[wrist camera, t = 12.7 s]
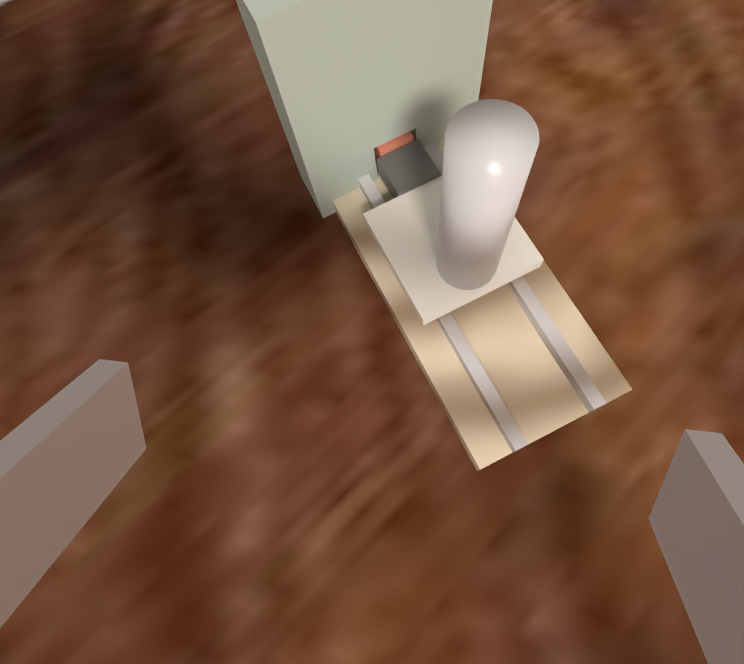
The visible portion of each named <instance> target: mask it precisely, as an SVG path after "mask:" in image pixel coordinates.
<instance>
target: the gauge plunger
mask: <svg viewBox="0 0 744 664" xmlns="http://www.w3.org/2000/svg"><path fill="white" fill-rule="evenodd" d="M412 141H414V136H413V134H412V133H411V131H409V132H407V133H405V134H403V135H401V136H399V137H396V138H394V139H392V140H390V141H388V142H386V143H384V144H382V145H380V146H378V147H375V148H374V153H375V161H376V164H377V158H379V157H381V156H383V155H385V154H387V153H389V152H391V151H393V150H396V149H398V148H400V147H402V146H404V145H406V144H408V143H410V142H412ZM377 166H378V165H377Z"/></svg>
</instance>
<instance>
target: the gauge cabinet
mask: <svg viewBox="0 0 744 664" xmlns="http://www.w3.org/2000/svg"><path fill="white" fill-rule="evenodd" d="M236 2H237V5H238V7H239V10H240V13H241V16H242V18H243V21H244V24H245V26H246V29H247V32H248V34H249V37H250V40H251V43H252V45H253V48H254V51H255V53H256V56H257V59H258V62H259V64H260V67H261V70H262V72H263V75H264V78H265V81H266V83H267V86H268V89H269V91H270V94H271V97H272V99H273V102H274V105H275V108H276V110H277V113H278V116H279V118H280V121H281V124H282V127H283V129H284V132H285V135H286V137H287V140H288V143H289V145H290V148H291V151H292V154H293V156H294V159H295V162H296V164H297V167H298V170H299V173H300V175H301V178H302V179H303V181H304V183H305V185H306V187H307V189H308V191H309V193H310V194H311V196H312V198H313V200H314V202H315V204H316V206H317V207H318V209H319V211H320V213H321V215H322V217H323V218H325V217H327V216H329V215H331V214H333V213H335V212H336V211H335V208H334V204H333V200H335V199H337V198H339V197H341V196H344V195H346V194H348V193H350V192H352V191H354V190H356V189H358V188H360V186H359V181H358V179H360V178H362V177H364V176H366V175H368V174H369V175H370V177H371V179H372V180H373V181H375V180H377V179H379V178H381V177H380V175H379V173H378V166H377V164H376V161H375V153H374V148H375V147H378V146H380V145H382V144H384V143H386V142H388V141H390V140H392V139H394V138H396V137H399V136H401V135H403V134H405V133H407V132H409V131H411V133H412V134H413V136H414V140H417V139H419V141H420V142H421V144H422V145H423V147H426V146H429V145H431V144H433V143H435V144H436V146H437V147H438V149H442V148H444V143H445V132H446V128H447V125H448V123H449V121H450V120H451V118H452V117H453V116H454V114H455V113H456V112H458V111H459V110H460V109H461V108H463V107H464V106H466V105H468V104H470V103H473V102H476V101H478V98H479V91H480V84H481V77H482V70H483V64H484V57H485V50H486V43H487V36H488V29H489V22H490V15H491V9H492V2H493V0H236Z"/></svg>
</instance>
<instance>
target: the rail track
mask: <svg viewBox="0 0 744 664" xmlns="http://www.w3.org/2000/svg"><path fill="white" fill-rule="evenodd" d="M424 149H425V150H426V152H427V153H428V155H429V156H430V158H431V159H432V161H433V162H434V164H435V165H436V167H437V169H438V170H439V172H440V173H441V175H440V176H442V172H443V158H444V148H442V149H438V147H437V146H436V144H435V143H433V144H431V145H429V146H426V147H424ZM358 181H359V186H360V188H358V189H356V190H354V191H352V192H350V193H348V194H346V195H344V196H341V197H339V198H337V199H335V200H333V204H334V208H335V211H336V213H337V215H338V217H339V219H340V221H341V223H342V224H343V226H344V228H345V230H346V232H347V234H348V235H349V237H350V239H351V241H352V243H353V245H354V246H355V248H356V250H357V252H358V254H359V256H360V257H361V259H362V261H363V263H364V265H365V267H366V268H367V270H368V272H369V274H370V276H371V278H372V279H373V281H374V283H375V285H376V287H377V288H378V290H379V292H380V294H381V296H382V298H383V299H384V301H385V303H386V305H387V307H388V309H389V310H390V312H391V314H392V316H393V318H394V320H395V321H396V323H397V325H398V327H399V329H400V331H401V332H402V334H403V336H404V338H405V340H406V342H407V343H408V345H409V347H410V349H411V351H412V353H413V354H414V356H415V358H416V360H417V362H418V363H419V365H420V367H421V369H422V371H423V373H424V374H425V376H426V378H427V380H428V382H429V384H430V385H431V387H432V389H433V391H434V393H435V395H436V396H437V398H438V400H439V402H440V404H441V406H442V407H443V409H444V411H445V413H446V415H447V417H448V418H449V420H450V422H451V424H452V426H453V428H454V429H455V431H456V433H457V435H458V437H459V439H460V440H461V442H462V444H463V446H464V448H465V449H466V451H467V453H468V455H469V457H470V459H471V460H472V462H473V464H474V466H475V468H476V470H477V471H478V470H480V469H482V468H484V467H486V466H488V465H490V464H492V463H494V462H495V461H497V460H499V459H501V458H503V457H505V456H507V455H509V454H511V453H513V452H515V451H516V450H518V449H520V448H522V447H524V446H526V445H528V444H530V443H532V442H533V441H535V440H537V439H539V438H541V437H543V436H545V435H547V434H549V433H551V432H552V431H554V430H556V429H558V428H560V427H562V426H564V425H566V424H568V423H570V422H572V421H573V420H575V419H577V418H579V417H581V416H583V415H585V414H587V413H589V412H591V411H593V410H594V409H596V408H598V407H600V406H602V405H604V404H606V403H608V402H610V401H611V400H613V399H615V398H617V397H619V396H621V395H623V394H625V393H627V392H629V391H630V390H632V388H631V387H630V386H629V384H628V383H627V381H626V380H625V378H624V377H623V375H622V374H621V372H620V371H619V369H618V368H617V367H616V365H615V364H614V362H613V361H612V359H611V358H610V356H609V355H608V353H607V352H606V350H605V349H604V348H603V346H602V345H601V343H600V342H599V340H598V339H597V337H596V336H595V334H594V333H593V332H592V330H591V329H590V327H589V326H588V324H587V323H586V321H585V320H584V318H583V317H582V315H581V314H580V313H579V311H578V310H577V308H576V307H575V305H574V304H573V302H572V301H571V299H570V298H569V296H568V295H567V294H566V292H565V291H564V289H563V288H562V286H561V285H560V283H559V282H558V280H557V279H556V278H555V276H554V275H553V273H552V272H551V270H550V269H549V267H548V266H547V264H546V263H545V261H544V260H543V262H542V264H541V266H540V267H539V268H537V269H535V270H533V271H531V272H529V273H527V274H525V275H523V276H521V277H519V278H517V279H515V280H513V281H511V282H509V283H507V284H505V285H503V286H501V287H499V288H497V289H495V290H493V291H491V292H489V293H487V294H485V295H483V296H481V297H479V298H477V299H475V300H473V301H471V302H469V303H467V304H465V305H463V306H461V307H459V308H457V309H455V310H453V311H451V312H449V313H447V314H445V315H443V316H441V317H439V318H437V319H435V320H433V321H431V322H429V323H427V324H425V325H422V323H421V321H420V319H419V318H418V316H417V314H416V312H415V310H414V309H413V307H412V305H411V303H410V302H409V300H408V298H407V296H406V295H405V293H404V291H403V289H402V287H401V286H400V284H399V282H398V280H397V279H396V277H395V275H394V273H393V272H392V270H391V268H390V266H389V264H388V263H387V261H386V259H385V257H384V256H383V254H382V252H381V250H380V249H379V247H378V245H377V243H376V241H375V240H374V238H373V236H372V234H371V233H370V231H369V229H368V227H367V226H366V224H365V222H364V217H363V213H365V212H367V211H369V210H371V209H373V208H376V207H378V206H380V205H382V204H384V203H386V202H388V201H390V200H392V199H394V198H393V197H392V195H391V193H390V192H389V190H388V188H387V187H386V185H385V183H384V182H383V180H382V178H379V179H377V180H375V181H373V180H372V179H371V177H370V175H369V174H368V175H366V176H364V177H362V178H360V179H358Z"/></svg>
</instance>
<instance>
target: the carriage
mask: <svg viewBox="0 0 744 664" xmlns="http://www.w3.org/2000/svg"><path fill="white" fill-rule="evenodd" d="M538 144H539V131H538V128H537V125H536V123H535V121H534V120H533V118H532V117H531V116H530V114H529V113H528V112H526V111H525V110H524V109H523V108H521V107H520V106H518V105H516V104H514V103H511V102H508V101H504V100H499V99H485V100H479V101H476V102H473V103H470V104H468V105H466V106H464V107H463V108H461V109H460V110H459V111H458V112H456V113H455V114H454V116H453V117H452V118H451V120H450V121H449V123H448V125H447V128H446V132H445V143H444V158H443V172H442V176H440V175H441V173H440V172H439V170H438V169H437V167H436V165H435V164H434V162H433V161H432V159H431V158H430V156H429V155H428V153H427V152H426V150H425V149H424V147H423V145H422V144H421V142H420V141H419V139H417V140H414V141H412V142H410V143H408V144H406V145H404V146H402V147H400V148H398V149H396V150H393V151H391V152H389V153H387V154H385V155H383V156H381V157H379V158H377V165H378V173H379V175H380V177H381V178H382V180H383V182H384V183H385V185H386V187H387V188H388V190H389V192H390V193H391V195H392V197H393V198H394V199H392V200H390V201H388V202H386V203H384V204H382V205H380V206H378V207H376V208H373V209H371V210H369V211H367V212H365V213H363V217H364V222H365V224H366V226H367V227H368V229H369V231H370V233H371V234H372V236H373V238H374V240H375V241H376V243H377V245H378V247H379V249H380V250H381V252H382V254H383V256H384V257H385V259H386V261H387V263H388V264H389V266H390V268H391V270H392V272H393V273H394V275H395V277H396V279H397V280H398V282H399V284H400V286H401V287H402V289H403V291H404V293H405V295H406V296H407V298H408V300H409V302H410V303H411V305H412V307H413V309H414V310H415V312H416V314H417V316H418V318H419V319H420V321H421V323H422V325H425V324H427V323H429V322H431V321H433V320H435V319H437V318H439V317H441V316H443V315H445V314H447V313H449V312H451V311H453V310H455V309H457V308H459V307H461V306H463V305H465V304H467V303H469V302H471V301H473V300H475V299H477V298H479V297H481V296H483V295H485V294H487V293H489V292H491V291H493V290H495V289H497V288H499V287H501V286H503V285H505V284H507V283H509V282H511V281H513V280H515V279H517V278H519V277H521V276H523V275H525V274H527V273H529V272H531V271H533V270H535V269H537V268H539V267H540V266H541V264H542V262H543V260H544V259H543V258H542V256H541V255H540V253H539V252H538V250H537V249H536V247H535V246H534V244H533V243H532V241H531V240H530V239H529V237H528V236H527V234H526V233H525V231H524V230H523V228H522V227H521V225H520V224H519V223H518V221H517V220H516V218H515V214H516V211H517V208H518V205H519V202H520V199H521V196H522V193H523V190H524V187H525V184H526V181H527V178H528V175H529V172H530V169H531V166H532V163H533V160H534V157H535V154H536V151H537V148H538Z"/></svg>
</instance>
